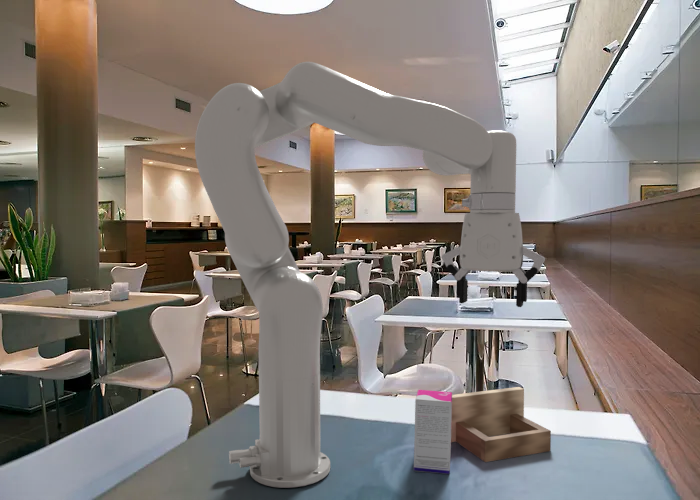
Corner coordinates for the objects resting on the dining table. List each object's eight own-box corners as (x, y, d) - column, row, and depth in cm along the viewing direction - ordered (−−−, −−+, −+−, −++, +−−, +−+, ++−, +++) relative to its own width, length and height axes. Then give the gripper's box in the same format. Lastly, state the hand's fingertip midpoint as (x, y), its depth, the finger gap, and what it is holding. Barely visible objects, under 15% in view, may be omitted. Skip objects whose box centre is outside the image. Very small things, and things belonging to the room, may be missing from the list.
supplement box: (451, 474, 85) (451, 401, 84) (412, 471, 86) (413, 399, 85) (451, 459, 90) (452, 390, 90) (415, 456, 92) (416, 388, 91)
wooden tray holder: (455, 467, 87) (455, 417, 87) (424, 442, 97) (424, 398, 97) (557, 449, 94) (558, 403, 94) (518, 428, 104) (519, 386, 104)
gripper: (437, 204, 94) (436, 303, 95) (543, 203, 87) (541, 310, 88) (449, 206, 101) (447, 298, 102) (548, 205, 94) (546, 304, 94)
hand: (490, 304), depth 95 cm, fingers open, 9 cm apart
